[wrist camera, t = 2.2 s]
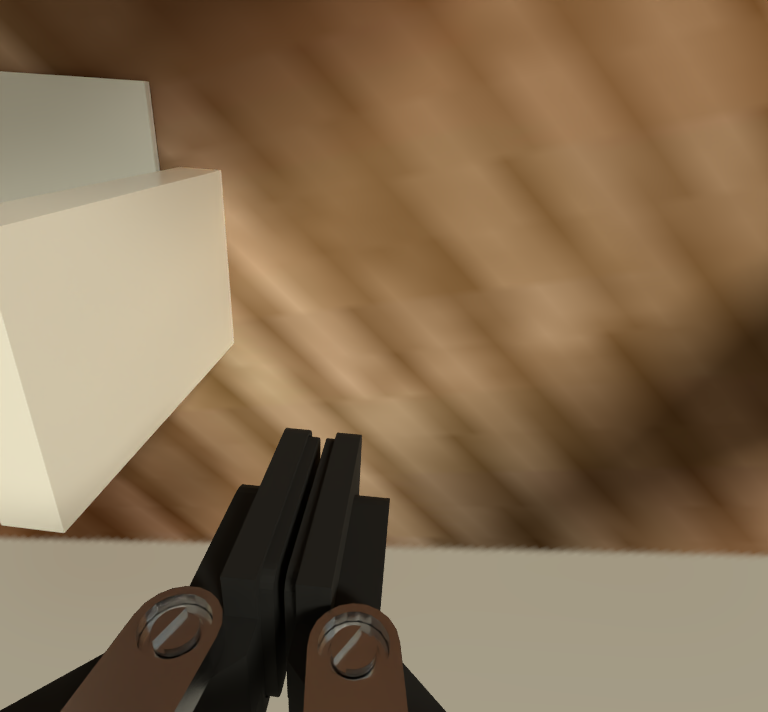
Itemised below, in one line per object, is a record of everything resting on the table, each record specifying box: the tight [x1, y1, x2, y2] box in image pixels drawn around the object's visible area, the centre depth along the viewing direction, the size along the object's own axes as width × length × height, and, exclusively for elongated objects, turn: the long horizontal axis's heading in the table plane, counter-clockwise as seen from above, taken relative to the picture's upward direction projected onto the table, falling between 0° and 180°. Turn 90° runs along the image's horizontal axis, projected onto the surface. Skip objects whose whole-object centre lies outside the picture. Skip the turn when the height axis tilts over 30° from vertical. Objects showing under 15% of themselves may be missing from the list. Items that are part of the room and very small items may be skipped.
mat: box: [0, 71, 160, 203], centre depth 26 cm, size 14×16×1 cm
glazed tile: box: [0, 167, 234, 533], centre depth 20 cm, size 2×9×14 cm, turn 176°
